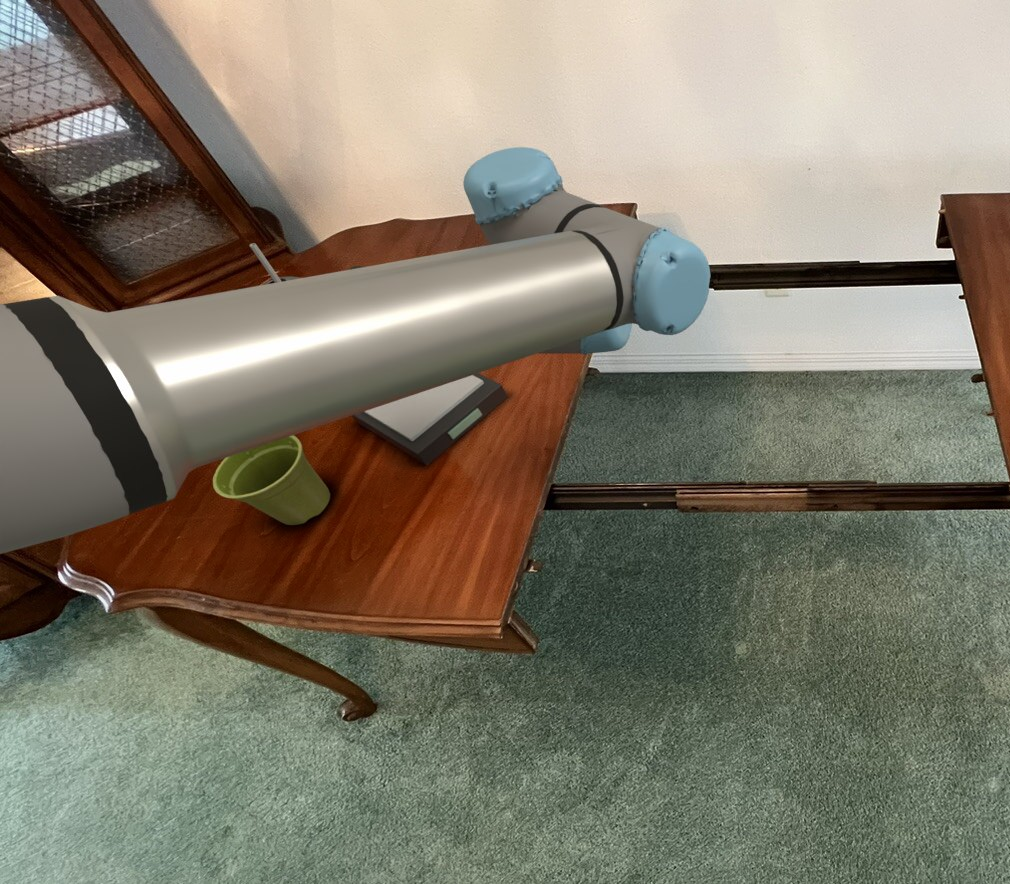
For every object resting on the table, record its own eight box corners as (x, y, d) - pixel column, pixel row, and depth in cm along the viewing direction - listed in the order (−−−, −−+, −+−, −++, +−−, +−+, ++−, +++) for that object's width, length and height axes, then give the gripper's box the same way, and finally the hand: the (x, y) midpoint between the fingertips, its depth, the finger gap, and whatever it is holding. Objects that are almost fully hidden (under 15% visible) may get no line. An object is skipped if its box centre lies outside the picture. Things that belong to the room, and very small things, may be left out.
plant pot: (323, 537, 80) (275, 496, 73) (249, 539, 81) (194, 498, 74) (357, 474, 86) (315, 431, 79) (288, 476, 87) (240, 433, 80)
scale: (428, 466, 86) (416, 452, 84) (358, 423, 92) (344, 408, 90) (509, 397, 93) (500, 382, 91) (439, 361, 99) (429, 345, 97)
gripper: (453, 417, 63) (227, 419, 65) (519, 284, 76) (329, 288, 77) (412, 359, 57) (165, 363, 59) (491, 225, 70) (286, 232, 72)
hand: (258, 321), depth 68 cm, fingers closed on beverage cup, 7 cm apart
